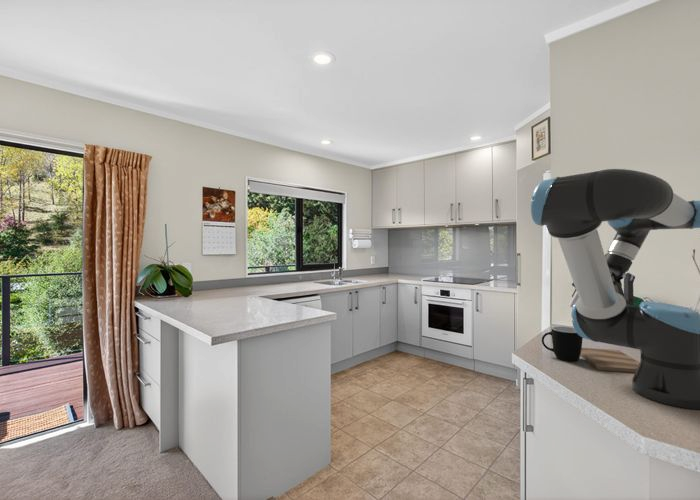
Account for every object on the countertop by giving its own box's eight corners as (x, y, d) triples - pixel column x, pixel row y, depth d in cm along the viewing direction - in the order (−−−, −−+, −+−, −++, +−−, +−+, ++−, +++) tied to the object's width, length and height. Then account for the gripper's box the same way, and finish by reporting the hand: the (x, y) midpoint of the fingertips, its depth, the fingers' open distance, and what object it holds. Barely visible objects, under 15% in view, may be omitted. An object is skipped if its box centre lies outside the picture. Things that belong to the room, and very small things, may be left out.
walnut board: (652, 374, 100) (652, 370, 100) (597, 369, 104) (597, 366, 104) (618, 353, 119) (618, 350, 119) (574, 350, 123) (574, 347, 123)
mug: (581, 356, 116) (581, 328, 116) (583, 364, 109) (583, 333, 109) (542, 351, 123) (541, 324, 122) (541, 358, 115) (541, 329, 115)
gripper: (669, 269, 99) (634, 332, 100) (593, 255, 123) (566, 306, 124) (652, 259, 97) (617, 323, 98) (579, 246, 121) (551, 298, 123)
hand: (588, 314), depth 111 cm, fingers open, 13 cm apart
